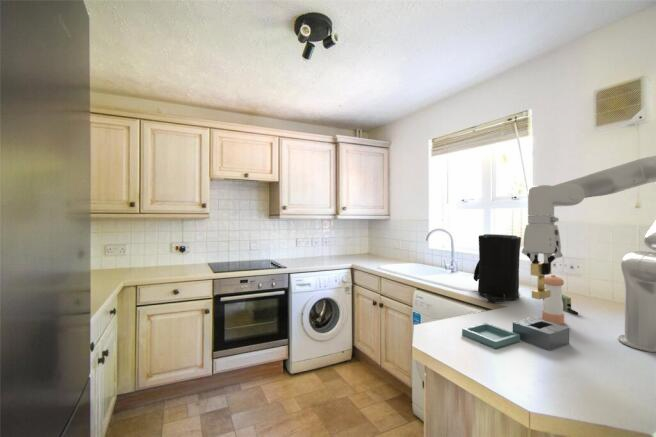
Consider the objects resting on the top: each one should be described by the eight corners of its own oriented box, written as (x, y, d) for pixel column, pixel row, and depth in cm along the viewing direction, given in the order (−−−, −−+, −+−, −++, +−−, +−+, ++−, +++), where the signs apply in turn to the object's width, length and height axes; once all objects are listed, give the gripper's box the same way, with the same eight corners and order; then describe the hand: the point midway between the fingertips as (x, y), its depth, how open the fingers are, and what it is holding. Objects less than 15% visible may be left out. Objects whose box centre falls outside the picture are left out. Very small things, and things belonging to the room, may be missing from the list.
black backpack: (514, 290, 175) (514, 233, 175) (536, 306, 144) (537, 236, 144) (472, 288, 181) (472, 232, 181) (484, 303, 150) (485, 236, 150)
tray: (519, 341, 104) (519, 334, 104) (495, 349, 98) (495, 341, 98) (485, 329, 115) (485, 322, 115) (462, 335, 109) (462, 328, 109)
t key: (538, 299, 102) (538, 264, 102) (530, 297, 104) (530, 263, 104) (551, 296, 105) (551, 262, 105) (543, 295, 107) (543, 261, 107)
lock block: (569, 343, 102) (569, 327, 102) (549, 350, 97) (549, 334, 97) (532, 331, 113) (532, 317, 113) (512, 337, 107) (512, 322, 107)
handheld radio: (549, 300, 155) (581, 316, 130) (542, 300, 155) (573, 316, 131) (548, 287, 155) (580, 301, 130) (541, 287, 155) (572, 301, 131)
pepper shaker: (568, 324, 120) (568, 277, 120) (547, 323, 121) (547, 276, 121) (558, 318, 127) (558, 273, 127) (538, 317, 129) (539, 273, 128)
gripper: (573, 221, 99) (574, 276, 99) (523, 220, 113) (523, 269, 113) (561, 221, 95) (561, 278, 96) (511, 220, 110) (511, 270, 110)
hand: (541, 273), depth 104 cm, fingers closed on t key, 2 cm apart
